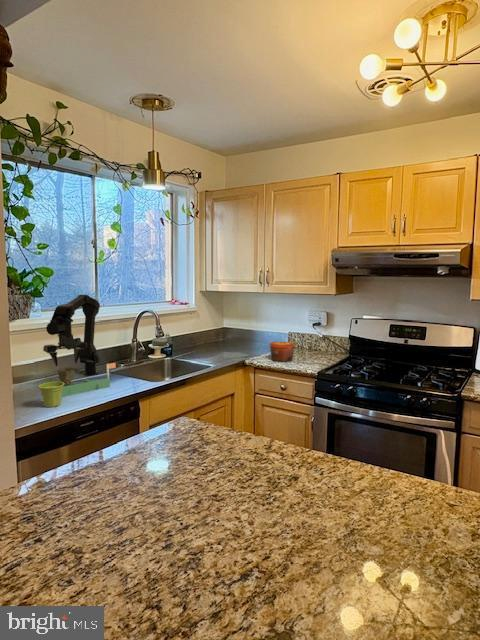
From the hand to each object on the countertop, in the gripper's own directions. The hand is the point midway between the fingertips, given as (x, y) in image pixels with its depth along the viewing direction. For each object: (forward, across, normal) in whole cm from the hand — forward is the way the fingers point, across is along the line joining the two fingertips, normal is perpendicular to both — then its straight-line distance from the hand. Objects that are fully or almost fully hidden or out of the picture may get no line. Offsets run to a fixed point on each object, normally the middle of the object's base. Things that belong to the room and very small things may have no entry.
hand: (66, 364), depth 199 cm
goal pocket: (+10, +2, -11) cm, 15 cm away
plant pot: (+11, -17, -27) cm, 33 cm away
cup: (+10, 0, 0) cm, 10 cm away
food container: (+10, +119, -36) cm, 125 cm away
